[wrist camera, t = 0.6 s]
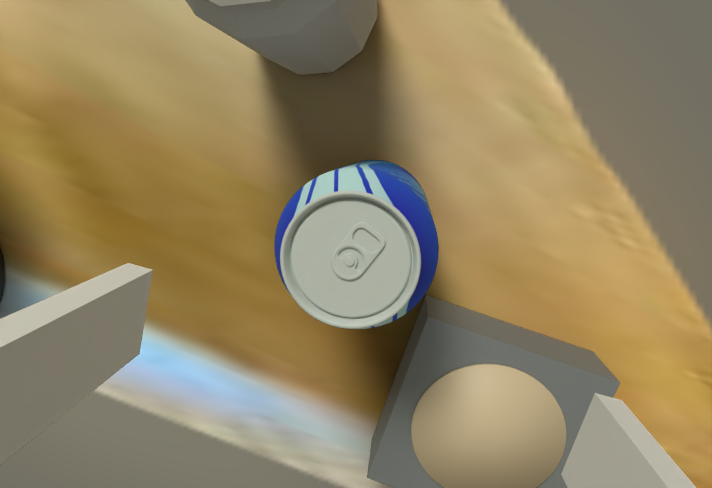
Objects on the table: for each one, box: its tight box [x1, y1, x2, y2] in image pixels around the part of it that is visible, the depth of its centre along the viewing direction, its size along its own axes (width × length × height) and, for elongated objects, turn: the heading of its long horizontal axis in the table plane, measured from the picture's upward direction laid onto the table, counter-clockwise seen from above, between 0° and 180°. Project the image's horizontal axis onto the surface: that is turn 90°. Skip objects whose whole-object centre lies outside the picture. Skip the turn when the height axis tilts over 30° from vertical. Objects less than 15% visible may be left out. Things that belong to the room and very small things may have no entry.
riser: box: [367, 295, 620, 488], centre depth 37 cm, size 14×14×5 cm
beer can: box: [275, 160, 438, 329], centre depth 29 cm, size 8×8×16 cm
